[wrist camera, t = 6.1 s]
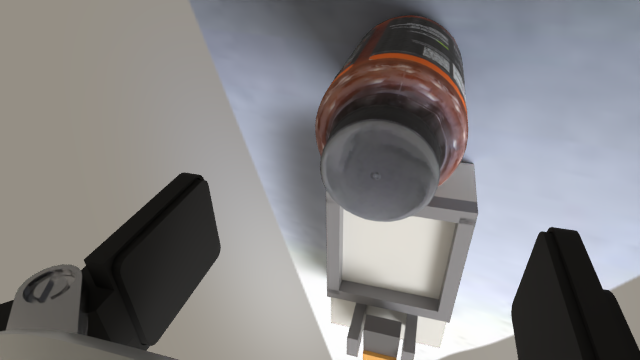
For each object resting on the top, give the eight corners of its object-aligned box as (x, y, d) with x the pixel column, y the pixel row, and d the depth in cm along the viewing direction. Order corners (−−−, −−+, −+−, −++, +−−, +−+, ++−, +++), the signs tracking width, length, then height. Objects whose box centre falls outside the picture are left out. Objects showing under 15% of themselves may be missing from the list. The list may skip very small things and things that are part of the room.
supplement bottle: (353, 114, 24) (294, 231, 15) (355, 11, 21) (280, 82, 12) (454, 122, 23) (454, 258, 14) (473, 13, 19) (490, 96, 10)
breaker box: (345, 148, 26) (314, 215, 20) (474, 163, 24) (480, 242, 18) (343, 283, 33) (319, 360, 27) (441, 303, 31) (438, 391, 25)
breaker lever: (366, 314, 24) (362, 333, 24) (401, 322, 24) (399, 342, 23) (366, 342, 28) (363, 360, 27) (397, 349, 27) (394, 368, 27)
